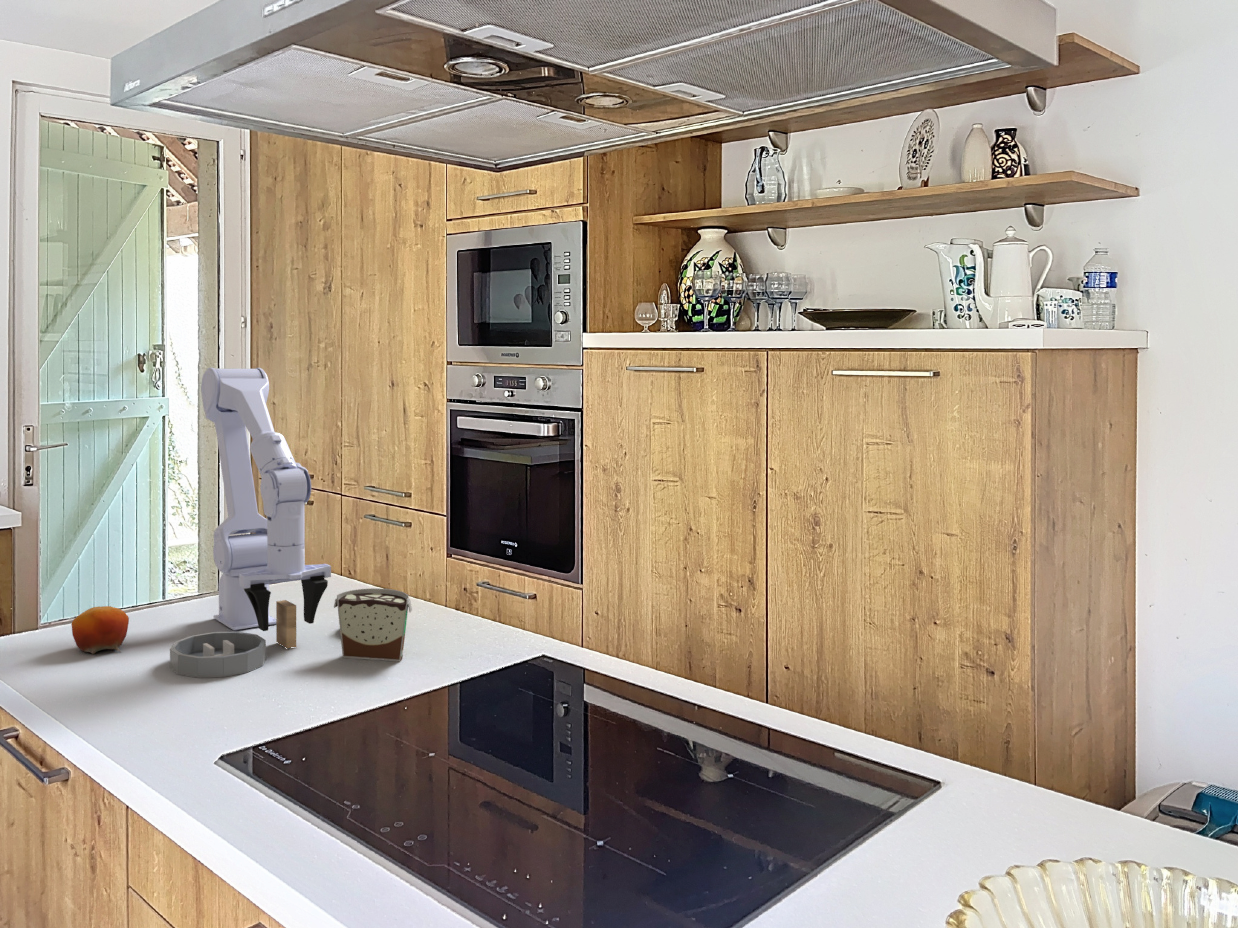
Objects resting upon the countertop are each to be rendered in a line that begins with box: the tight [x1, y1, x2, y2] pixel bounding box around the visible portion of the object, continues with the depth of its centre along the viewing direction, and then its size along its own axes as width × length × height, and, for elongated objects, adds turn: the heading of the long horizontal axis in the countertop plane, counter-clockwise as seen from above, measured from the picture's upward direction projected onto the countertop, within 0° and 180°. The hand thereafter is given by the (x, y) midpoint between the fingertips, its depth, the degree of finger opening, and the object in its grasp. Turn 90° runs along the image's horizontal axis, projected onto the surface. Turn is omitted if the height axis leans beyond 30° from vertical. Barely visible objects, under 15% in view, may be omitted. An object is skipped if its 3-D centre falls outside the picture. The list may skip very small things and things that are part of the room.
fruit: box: [70, 605, 130, 655], centre depth 164 cm, size 8×8×8 cm
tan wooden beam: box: [275, 599, 297, 650], centre depth 170 cm, size 4×2×7 cm, turn 41°
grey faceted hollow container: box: [169, 631, 267, 679], centre depth 160 cm, size 13×13×3 cm
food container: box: [333, 588, 413, 662], centre depth 167 cm, size 12×6×10 cm, turn 84°
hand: (286, 625), depth 170 cm, fingers open, 7 cm apart
